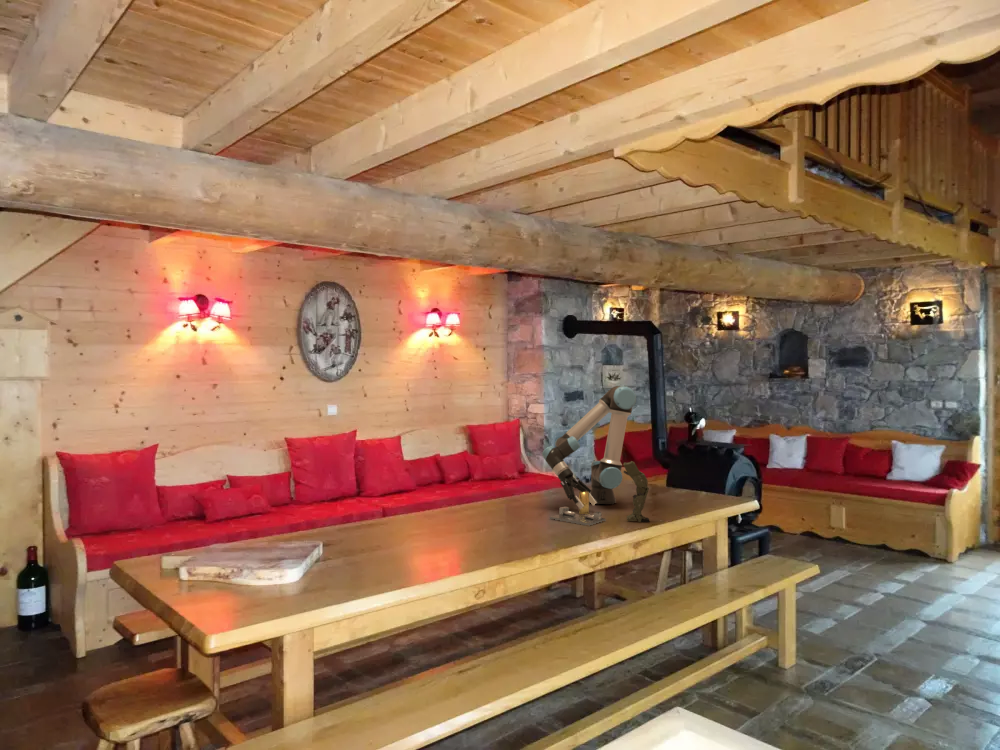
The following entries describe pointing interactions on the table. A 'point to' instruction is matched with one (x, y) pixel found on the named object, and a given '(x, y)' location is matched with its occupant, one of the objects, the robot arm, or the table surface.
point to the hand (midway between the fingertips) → (588, 506)
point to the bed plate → (578, 517)
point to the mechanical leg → (641, 491)
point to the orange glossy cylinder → (584, 502)
